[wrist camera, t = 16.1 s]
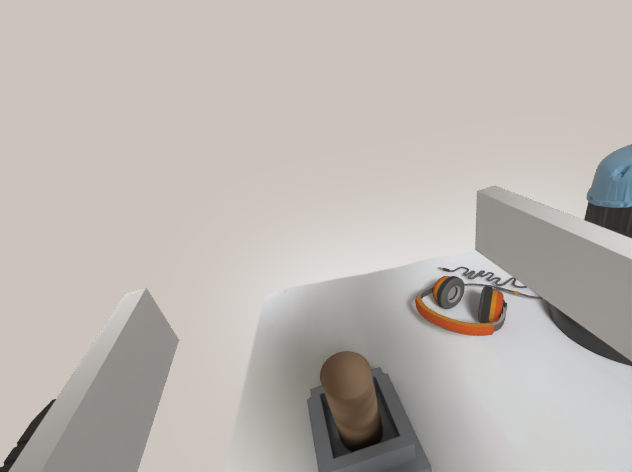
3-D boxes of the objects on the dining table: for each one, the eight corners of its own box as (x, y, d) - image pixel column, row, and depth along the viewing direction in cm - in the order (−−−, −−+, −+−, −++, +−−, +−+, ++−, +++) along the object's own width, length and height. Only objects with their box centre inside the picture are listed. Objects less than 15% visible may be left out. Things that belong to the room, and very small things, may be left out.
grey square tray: (388, 378, 39) (384, 358, 37) (431, 472, 29) (429, 451, 28) (308, 403, 39) (301, 384, 37) (326, 508, 29) (317, 489, 27)
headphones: (558, 273, 45) (517, 334, 33) (551, 303, 47) (510, 372, 34) (449, 248, 57) (389, 285, 45) (447, 273, 59) (388, 315, 46)
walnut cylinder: (373, 402, 36) (361, 345, 31) (390, 445, 31) (378, 387, 27) (334, 415, 36) (316, 359, 31) (345, 460, 31) (325, 404, 27)
